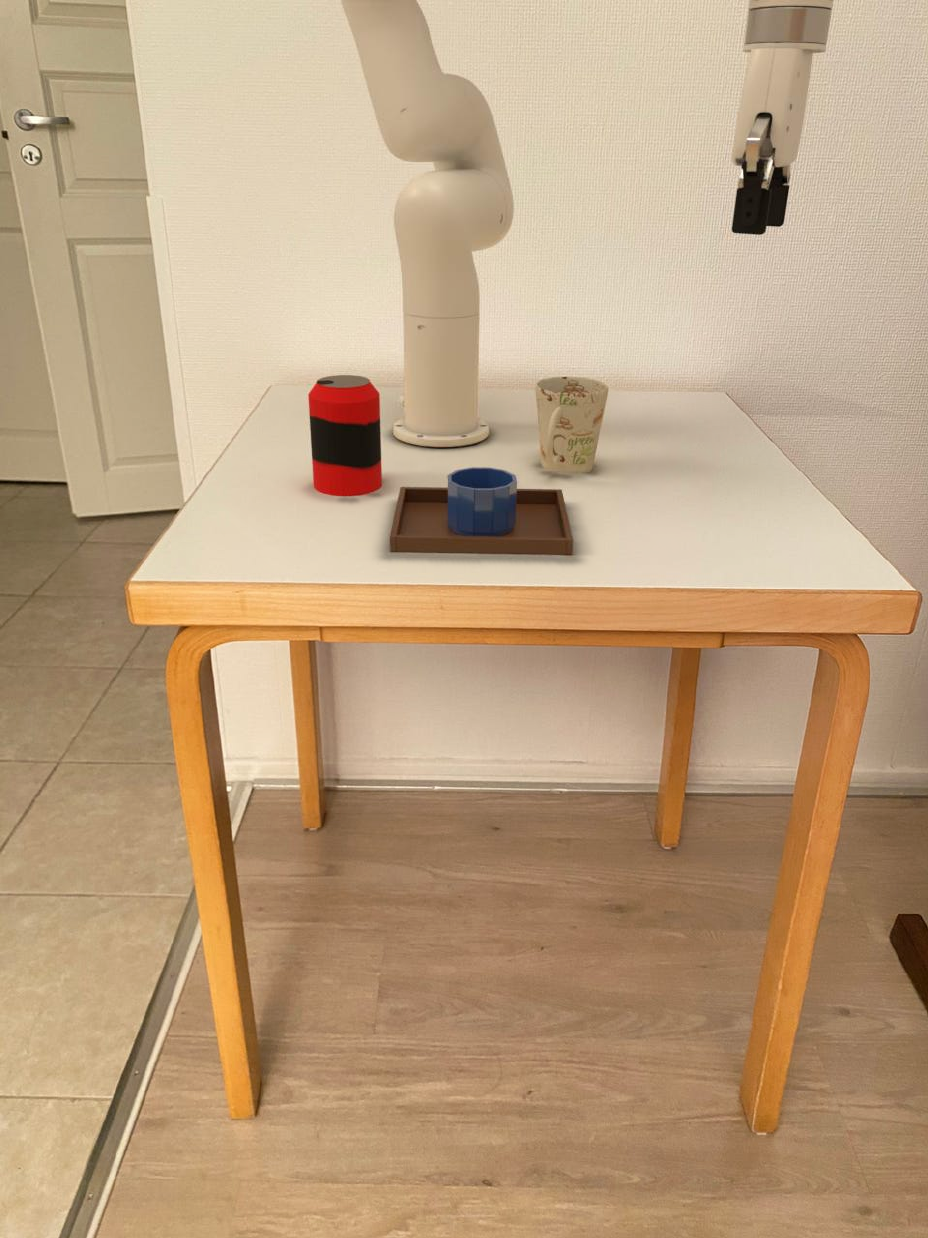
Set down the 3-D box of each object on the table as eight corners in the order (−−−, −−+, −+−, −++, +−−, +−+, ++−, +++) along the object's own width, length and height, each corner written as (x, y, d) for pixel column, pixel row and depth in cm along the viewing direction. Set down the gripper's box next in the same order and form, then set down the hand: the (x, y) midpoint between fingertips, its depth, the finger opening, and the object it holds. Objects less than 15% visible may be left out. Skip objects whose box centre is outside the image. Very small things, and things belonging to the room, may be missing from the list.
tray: (390, 556, 92) (389, 536, 91) (400, 504, 105) (400, 486, 104) (572, 559, 92) (573, 540, 91) (560, 506, 105) (561, 489, 104)
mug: (608, 462, 119) (615, 380, 114) (585, 495, 108) (591, 406, 104) (542, 454, 121) (546, 373, 117) (513, 486, 111) (516, 398, 106)
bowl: (434, 521, 99) (434, 474, 97) (490, 509, 102) (491, 463, 100) (470, 543, 94) (471, 494, 92) (528, 529, 97) (530, 482, 95)
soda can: (307, 481, 111) (301, 375, 106) (372, 474, 113) (368, 371, 108) (322, 503, 105) (315, 392, 99) (390, 495, 107) (387, 386, 102)
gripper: (763, 41, 100) (739, 221, 108) (725, 26, 86) (700, 234, 94) (840, 40, 97) (809, 225, 105) (813, 25, 83) (780, 239, 91)
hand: (758, 229), depth 99 cm, fingers open, 9 cm apart
